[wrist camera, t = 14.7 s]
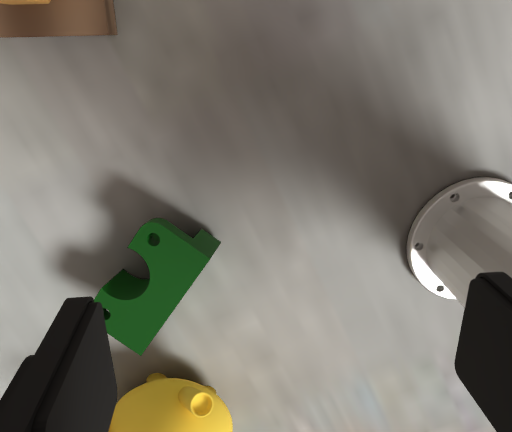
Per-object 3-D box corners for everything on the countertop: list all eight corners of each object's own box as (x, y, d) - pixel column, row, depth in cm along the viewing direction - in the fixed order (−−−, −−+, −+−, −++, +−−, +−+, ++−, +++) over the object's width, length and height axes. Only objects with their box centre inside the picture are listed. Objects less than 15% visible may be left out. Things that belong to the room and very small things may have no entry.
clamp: (170, 208, 44) (161, 197, 36) (219, 243, 45) (222, 240, 36) (96, 309, 43) (67, 324, 34) (147, 344, 43) (132, 369, 34)
